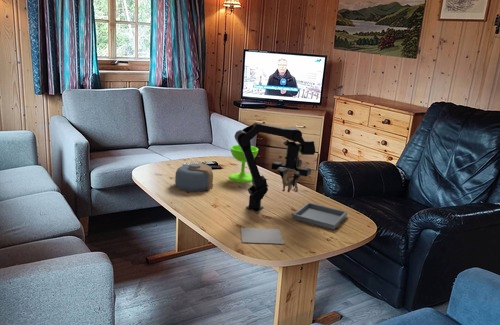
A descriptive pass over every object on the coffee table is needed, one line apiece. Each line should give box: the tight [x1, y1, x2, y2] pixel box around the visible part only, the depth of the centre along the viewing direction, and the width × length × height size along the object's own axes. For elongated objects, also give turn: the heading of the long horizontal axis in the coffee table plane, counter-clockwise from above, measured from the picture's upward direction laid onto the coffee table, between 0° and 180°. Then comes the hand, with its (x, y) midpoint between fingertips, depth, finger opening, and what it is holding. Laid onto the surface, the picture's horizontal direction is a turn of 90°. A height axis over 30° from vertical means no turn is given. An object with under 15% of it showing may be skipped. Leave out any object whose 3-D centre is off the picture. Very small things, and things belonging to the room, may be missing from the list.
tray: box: [291, 201, 348, 231], centre depth 208 cm, size 20×20×2 cm
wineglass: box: [228, 144, 259, 184], centre depth 257 cm, size 16×16×18 cm
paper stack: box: [240, 224, 285, 245], centre depth 189 cm, size 23×25×1 cm
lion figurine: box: [281, 172, 299, 193], centre depth 215 cm, size 15×5×9 cm, turn 154°
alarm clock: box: [174, 162, 214, 192], centre depth 237 cm, size 19×20×12 cm
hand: (289, 185), depth 215 cm, fingers closed on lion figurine, 4 cm apart
